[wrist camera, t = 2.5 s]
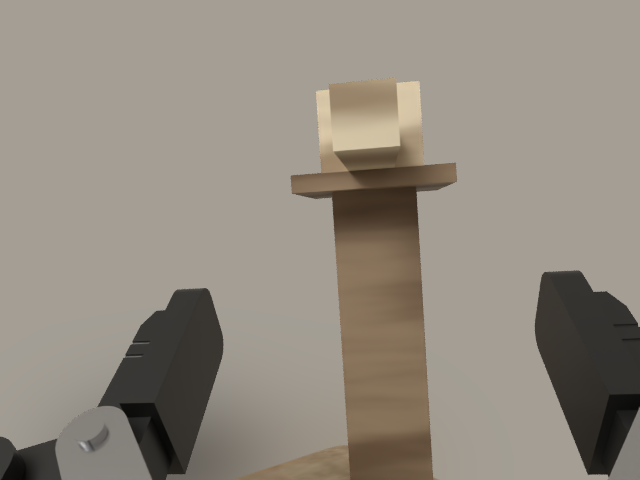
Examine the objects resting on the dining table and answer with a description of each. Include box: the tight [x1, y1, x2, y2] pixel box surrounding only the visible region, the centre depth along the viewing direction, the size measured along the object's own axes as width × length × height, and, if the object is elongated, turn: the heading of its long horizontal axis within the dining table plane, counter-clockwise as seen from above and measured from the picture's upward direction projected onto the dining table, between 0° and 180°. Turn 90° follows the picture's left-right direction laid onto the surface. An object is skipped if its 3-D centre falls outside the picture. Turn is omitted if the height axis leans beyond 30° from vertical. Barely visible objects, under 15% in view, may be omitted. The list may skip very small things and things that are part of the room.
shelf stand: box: [291, 163, 457, 480], centre depth 34 cm, size 10×10×32 cm
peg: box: [316, 78, 424, 173], centre depth 27 cm, size 17×6×5 cm, turn 173°
